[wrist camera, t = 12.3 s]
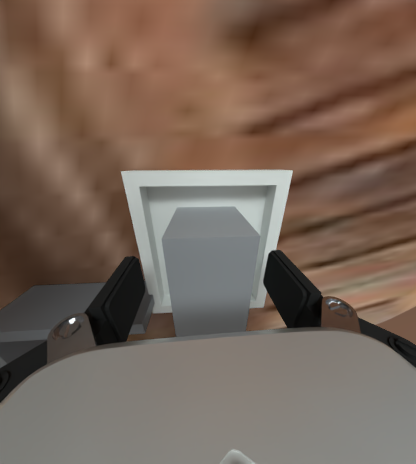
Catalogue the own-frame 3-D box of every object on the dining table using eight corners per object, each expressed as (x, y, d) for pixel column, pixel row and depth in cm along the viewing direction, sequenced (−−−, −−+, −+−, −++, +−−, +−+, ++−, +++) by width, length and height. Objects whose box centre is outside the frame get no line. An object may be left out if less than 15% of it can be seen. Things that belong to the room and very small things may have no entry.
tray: (132, 170, 12) (121, 171, 10) (279, 169, 13) (292, 170, 11) (157, 298, 18) (152, 313, 16) (257, 293, 18) (263, 307, 16)
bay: (27, 285, 16) (-41, 334, 11) (157, 280, 17) (142, 324, 12) (74, 357, 21) (41, 409, 17) (170, 350, 22) (163, 398, 18)
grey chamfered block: (177, 207, 13) (161, 238, 7) (235, 206, 13) (262, 235, 8) (183, 279, 16) (176, 338, 11) (230, 277, 16) (246, 334, 11)
